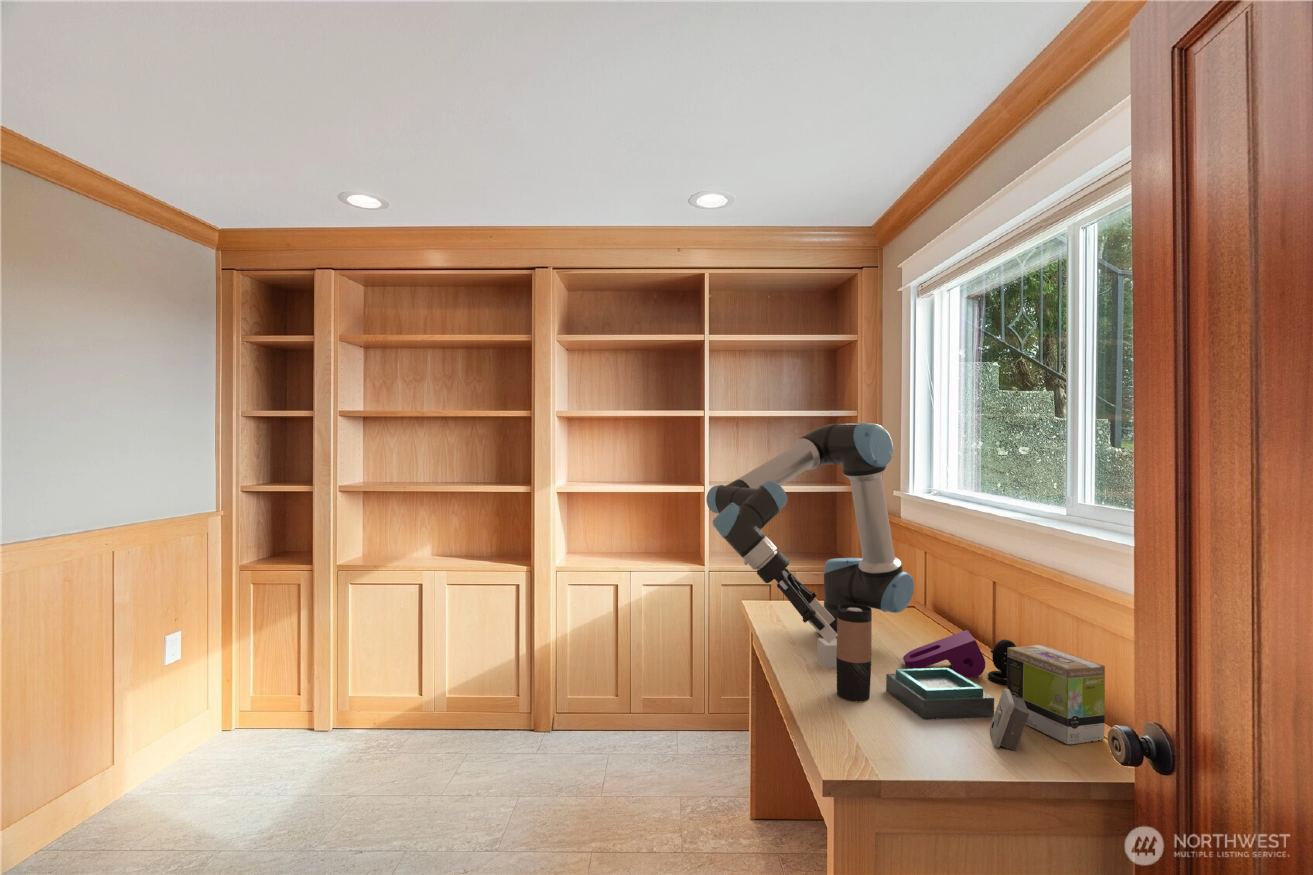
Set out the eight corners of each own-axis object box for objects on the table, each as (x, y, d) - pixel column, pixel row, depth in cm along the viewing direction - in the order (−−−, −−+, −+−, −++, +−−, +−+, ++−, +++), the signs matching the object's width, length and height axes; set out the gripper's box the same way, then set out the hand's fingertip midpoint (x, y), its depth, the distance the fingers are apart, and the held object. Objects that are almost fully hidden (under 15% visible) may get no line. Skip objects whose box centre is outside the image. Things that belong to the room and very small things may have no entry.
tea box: (1106, 740, 129) (1107, 665, 129) (1066, 746, 126) (1067, 669, 126) (1041, 710, 143) (1042, 642, 143) (1004, 715, 140) (1005, 645, 140)
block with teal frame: (886, 691, 153) (886, 667, 153) (950, 688, 155) (950, 665, 155) (923, 719, 137) (923, 693, 137) (993, 716, 139) (994, 690, 139)
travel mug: (871, 692, 152) (872, 605, 152) (870, 704, 145) (871, 613, 145) (836, 687, 154) (838, 602, 155) (834, 699, 147) (835, 609, 147)
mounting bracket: (920, 696, 166) (991, 672, 162) (905, 665, 167) (975, 640, 163) (915, 683, 175) (982, 660, 171) (901, 653, 176) (967, 629, 172)
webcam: (1008, 688, 156) (1009, 646, 156) (980, 678, 163) (981, 637, 163) (1029, 683, 160) (1030, 642, 160) (1000, 673, 166) (1001, 633, 167)
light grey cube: (825, 669, 168) (825, 645, 168) (817, 661, 174) (817, 638, 174) (848, 668, 168) (848, 645, 168) (839, 660, 174) (839, 638, 174)
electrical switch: (989, 729, 133) (994, 684, 132) (1018, 737, 131) (1023, 691, 130) (993, 749, 124) (999, 701, 124) (1024, 757, 122) (1030, 708, 122)
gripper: (758, 562, 166) (818, 626, 163) (751, 581, 142) (821, 658, 138) (780, 542, 165) (840, 606, 162) (776, 558, 141) (848, 635, 137)
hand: (832, 630), depth 150 cm, fingers open, 13 cm apart
